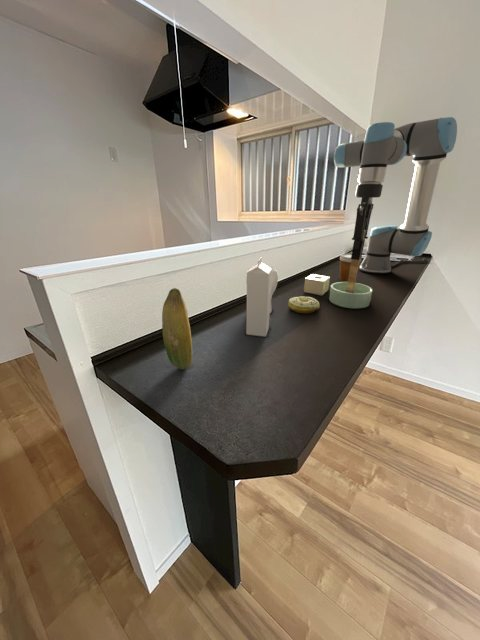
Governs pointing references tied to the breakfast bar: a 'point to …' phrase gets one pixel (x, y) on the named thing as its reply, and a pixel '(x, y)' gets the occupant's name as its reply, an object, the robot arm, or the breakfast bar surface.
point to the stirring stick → (353, 272)
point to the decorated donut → (303, 304)
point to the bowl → (350, 295)
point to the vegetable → (177, 330)
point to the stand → (316, 284)
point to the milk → (258, 299)
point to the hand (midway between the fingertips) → (356, 258)
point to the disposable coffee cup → (345, 267)
